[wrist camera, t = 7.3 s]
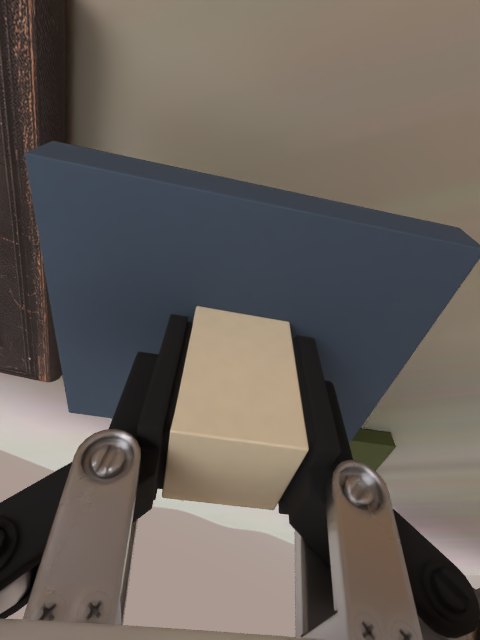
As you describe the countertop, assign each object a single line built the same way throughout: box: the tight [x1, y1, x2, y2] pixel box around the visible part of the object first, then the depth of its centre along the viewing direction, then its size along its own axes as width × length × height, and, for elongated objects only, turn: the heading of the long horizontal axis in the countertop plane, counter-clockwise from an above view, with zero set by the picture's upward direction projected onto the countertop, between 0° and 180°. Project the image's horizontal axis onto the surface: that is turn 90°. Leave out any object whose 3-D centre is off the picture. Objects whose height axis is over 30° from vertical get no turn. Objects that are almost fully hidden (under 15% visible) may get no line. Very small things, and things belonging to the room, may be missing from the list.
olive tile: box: [349, 429, 396, 471], centre depth 32 cm, size 12×13×6 cm
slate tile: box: [25, 141, 480, 510], centre depth 11 cm, size 12×13×6 cm
